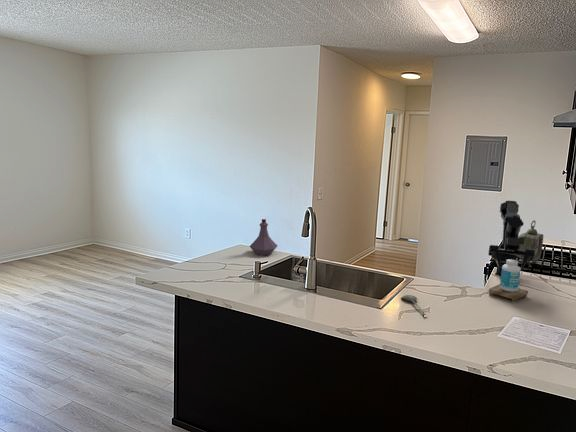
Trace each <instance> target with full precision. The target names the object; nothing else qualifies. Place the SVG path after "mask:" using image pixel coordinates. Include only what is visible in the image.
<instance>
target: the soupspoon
mask: <svg viewBox="0 0 576 432" xmlns="http://www.w3.org/2000/svg"><path fill="white" fill-rule="evenodd" d="M401 299H403V300H406V301H409V302H412V303H413V304H414V305H415V306H416V307H417V309H419V311H420V312H421V314H422V313H423V314H424V315H427V314H426V313H425V312H424V311H423V309H422V308H421V307H420V306H419V305H418V303H417V302H416V301H417V300H418V297H416V296H415V295H412V294H406V295H402V297H401ZM423 314H422V315H423Z"/></svg>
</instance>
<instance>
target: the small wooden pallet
mask: <svg viewBox="0 0 576 432" xmlns="http://www.w3.org/2000/svg"><path fill="white" fill-rule="evenodd" d="M488 293H489V294H488V296H491V297H493V296H495V295H498V296H499V297H500V296H501V297H505V298H508V299H511V303H513V302H514V304H516V303H518V300H519V299H521V298H524V297H526V298H527V297H528V294H529V290H528V289H525V288H524V289H523V288H520V287H518V290H517V291H516V292H508V291H504V290H502V289H501V288H500V283H499V284H496V285H495V286H492V287H490V288H488Z"/></svg>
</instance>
